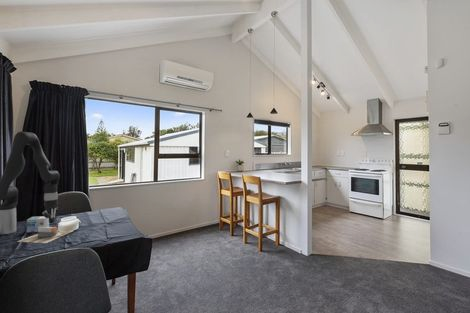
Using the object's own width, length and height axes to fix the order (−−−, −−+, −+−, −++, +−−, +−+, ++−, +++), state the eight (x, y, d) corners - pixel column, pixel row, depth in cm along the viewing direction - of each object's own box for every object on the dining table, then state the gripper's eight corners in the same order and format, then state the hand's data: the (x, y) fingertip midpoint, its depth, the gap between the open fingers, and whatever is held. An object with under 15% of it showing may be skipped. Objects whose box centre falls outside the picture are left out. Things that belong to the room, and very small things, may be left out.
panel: (16, 243, 142) (16, 241, 142) (48, 231, 164) (48, 229, 164) (46, 245, 140) (46, 242, 140) (74, 232, 162) (74, 230, 162)
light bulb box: (26, 234, 158) (26, 219, 157) (32, 231, 164) (32, 216, 164) (44, 233, 160) (44, 218, 160) (49, 230, 167) (49, 215, 167)
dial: (32, 237, 147) (32, 229, 147) (46, 232, 157) (46, 224, 157) (49, 238, 146) (49, 230, 146) (62, 233, 156) (62, 225, 156)
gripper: (54, 196, 166) (54, 220, 166) (37, 200, 152) (37, 225, 153) (63, 197, 165) (64, 220, 165) (47, 201, 152) (47, 226, 152)
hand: (51, 222), depth 159 cm, fingers closed
